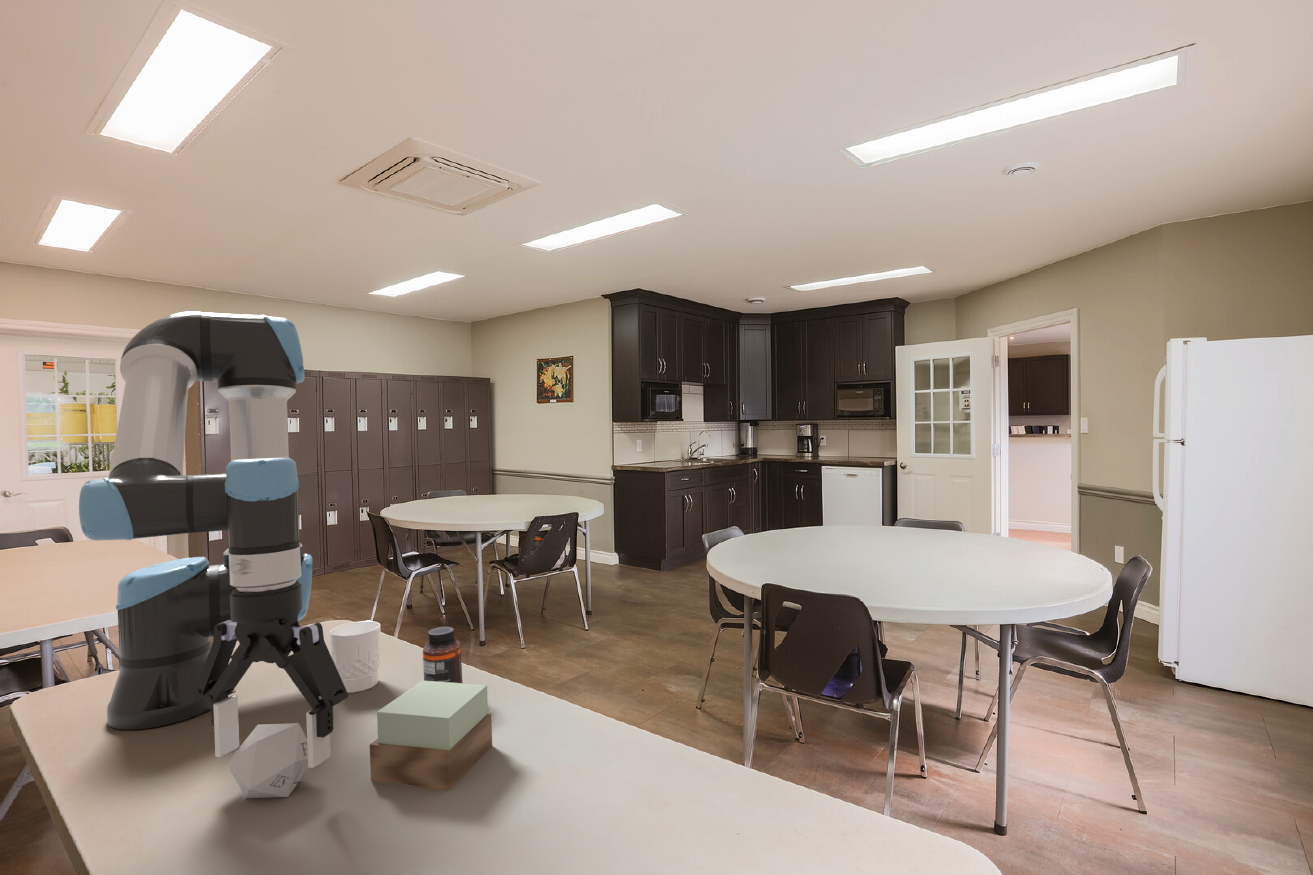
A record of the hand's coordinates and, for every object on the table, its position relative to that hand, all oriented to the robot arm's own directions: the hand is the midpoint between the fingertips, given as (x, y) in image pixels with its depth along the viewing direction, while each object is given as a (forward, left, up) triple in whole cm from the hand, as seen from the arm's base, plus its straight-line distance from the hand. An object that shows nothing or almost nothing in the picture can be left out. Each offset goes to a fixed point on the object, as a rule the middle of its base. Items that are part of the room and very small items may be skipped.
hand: (272, 756), depth 79 cm
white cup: (-12, +30, -5) cm, 33 cm away
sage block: (+16, +10, 0) cm, 19 cm away
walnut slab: (+16, +10, -5) cm, 19 cm away
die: (0, 0, -5) cm, 5 cm away
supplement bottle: (+6, +28, -5) cm, 29 cm away
